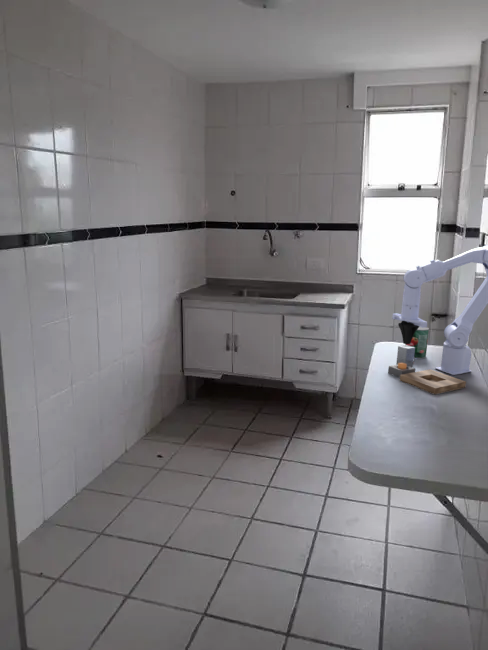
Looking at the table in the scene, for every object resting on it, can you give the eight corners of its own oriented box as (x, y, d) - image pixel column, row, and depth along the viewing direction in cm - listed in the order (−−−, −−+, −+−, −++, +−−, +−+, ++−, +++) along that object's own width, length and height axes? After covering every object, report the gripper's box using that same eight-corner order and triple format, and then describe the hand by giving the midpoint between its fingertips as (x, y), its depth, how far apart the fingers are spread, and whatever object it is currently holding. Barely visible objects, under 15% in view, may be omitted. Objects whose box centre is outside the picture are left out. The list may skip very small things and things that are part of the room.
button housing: (400, 370, 188) (401, 363, 187) (414, 375, 183) (415, 368, 182) (388, 373, 184) (388, 366, 184) (401, 378, 179) (402, 371, 179)
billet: (404, 364, 196) (406, 344, 194) (413, 367, 193) (415, 347, 191) (396, 365, 194) (398, 346, 192) (404, 368, 191) (406, 348, 189)
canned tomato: (429, 356, 207) (432, 327, 205) (419, 360, 202) (423, 330, 199) (410, 351, 212) (413, 323, 210) (400, 355, 207) (403, 326, 204)
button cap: (401, 369, 185) (402, 362, 185) (407, 371, 183) (408, 364, 182) (395, 370, 184) (396, 363, 183) (401, 372, 181) (402, 365, 181)
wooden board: (429, 375, 184) (430, 369, 184) (465, 387, 172) (466, 381, 172) (399, 380, 177) (400, 374, 177) (434, 394, 165) (435, 388, 165)
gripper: (387, 301, 192) (383, 339, 195) (417, 309, 179) (413, 349, 182) (402, 300, 195) (398, 337, 198) (433, 308, 183) (429, 347, 186)
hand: (406, 343), depth 190 cm, fingers closed
